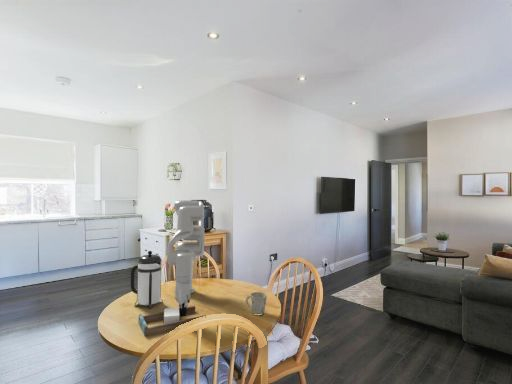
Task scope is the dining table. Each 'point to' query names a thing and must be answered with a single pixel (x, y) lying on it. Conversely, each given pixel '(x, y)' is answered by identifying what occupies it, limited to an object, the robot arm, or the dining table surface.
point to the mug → (257, 302)
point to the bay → (162, 327)
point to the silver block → (171, 315)
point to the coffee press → (147, 279)
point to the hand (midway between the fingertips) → (182, 315)
